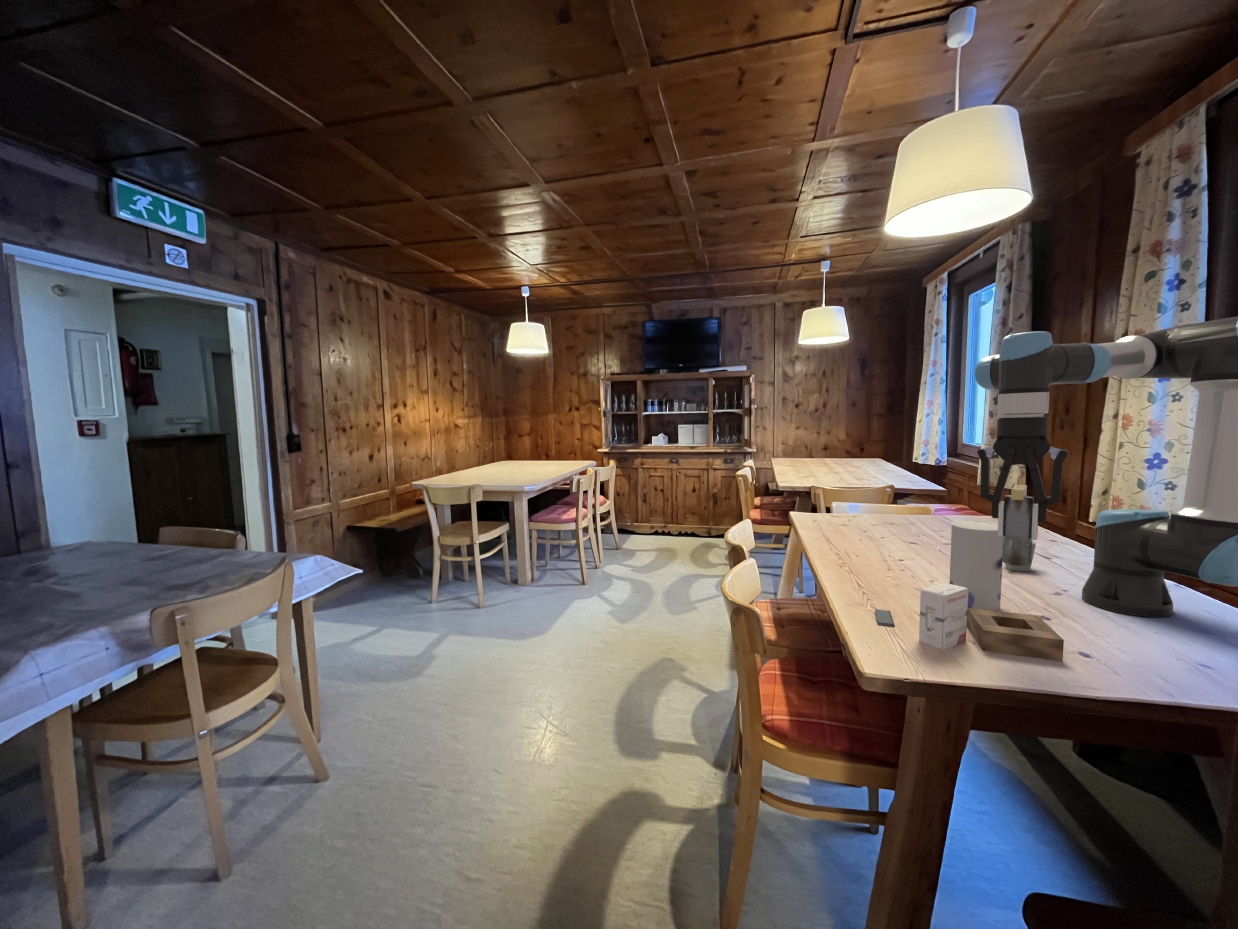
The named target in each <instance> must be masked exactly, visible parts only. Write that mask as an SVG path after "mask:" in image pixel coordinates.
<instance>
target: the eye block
mask: <svg viewBox="0 0 1238 929" xmlns="http://www.w3.org/2000/svg"><path fill="white" fill-rule="evenodd" d="M966 629H967V630H968V631H969V633H971V635H972V637H973V639H974V640H975V641H976V643H977V644H978V645H979V646H978V647H980V648H981V650H982V651H983V652H991V653H997V654H1004V655H1013V656H1019V657H1026V658H1027V657H1028V658H1033V659H1043V660H1048V661H1049V660H1051V661H1055V662H1063V659H1064V642H1065V640H1064V638H1062V637H1061V635H1059V634H1058V633H1057V632H1056V631H1055V630H1054V629H1053V628H1052V627H1051V626H1049V624H1048V623H1046V622H1045V621H1044V620H1043V619H1042V618H1041V617H1040V616H1039V615H1036V614H1030V613H1029V614H1027V613H1018V612H1009V611H1001V610H1000V611H999V610H996V611H992V610H982V609H973V608H967V628H966Z"/></svg>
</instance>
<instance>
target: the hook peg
mask: <svg viewBox="0 0 1238 929" xmlns="http://www.w3.org/2000/svg"><path fill="white" fill-rule="evenodd" d="M1027 489H1028V485H1025V484H1022V485H1021V484H1015V485H1014V486H1013V487H1012V488H1011V490H1010V491H1011V492H1010V494H1009V495H1007V494H1006V495H1004V501H1003V502H1004V524H1003V549H1002V563H1004V564H1005V563H1006V564H1010V565H1016V566H1030V565H1031V566H1032V564H1031V553H1032V541H1033V540H1031V538H1032V514H1033V505H1034V504H1035V503H1034V502H1035V497H1034V496H1029V495H1028V494H1027V491H1028V490H1027Z"/></svg>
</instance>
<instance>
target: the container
mask: <svg viewBox="0 0 1238 929" xmlns="http://www.w3.org/2000/svg"><path fill="white" fill-rule="evenodd" d="M1002 549H1003V537H1002V536H998V524H993V523H988V522H982V521H981V522H980V521H965V520H964V521H954V522H952V523H951V534H950V558H949V559H950V560H949V561H950V562H949V584H952V585H957V586H961V587H965V588H967V589H968V607H967V608H973V609H982V610H992V611H999V610H1000V609H1001V601H1002V600H1001V597H1002V581H1003V580H1002V578H1003V577H1002V576H1003V562H1002Z"/></svg>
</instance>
